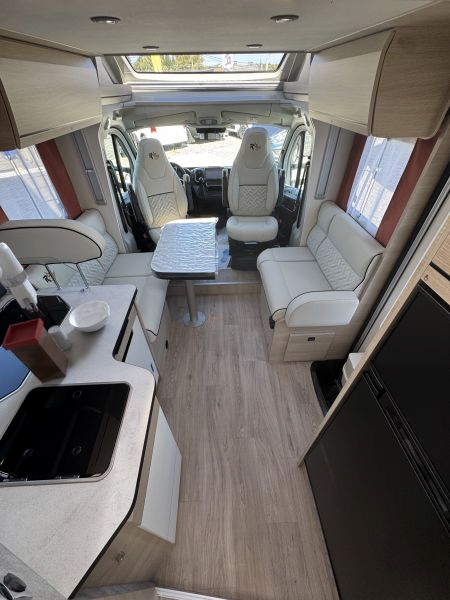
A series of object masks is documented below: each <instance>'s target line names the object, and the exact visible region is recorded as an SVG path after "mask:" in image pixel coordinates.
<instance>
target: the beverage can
mask: <svg viewBox="0 0 450 600" xmlns="http://www.w3.org/2000/svg"><path fill="white" fill-rule="evenodd" d="M47 332H48V333H49V335H50V336H51V337H52V339H53V340H54V341H55V343H56V344H57V345H58V347H59V348H60V349H61V351H67V350H69V349H70V348H71V347H72V342H71V340H70V338H68V336H67V335H66V333H65V332H64V330H63V329H62V327H61V326H60V325H52V326H51V327H49V329H48V331H47Z"/></svg>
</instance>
